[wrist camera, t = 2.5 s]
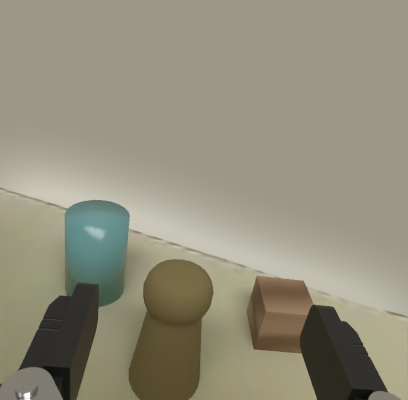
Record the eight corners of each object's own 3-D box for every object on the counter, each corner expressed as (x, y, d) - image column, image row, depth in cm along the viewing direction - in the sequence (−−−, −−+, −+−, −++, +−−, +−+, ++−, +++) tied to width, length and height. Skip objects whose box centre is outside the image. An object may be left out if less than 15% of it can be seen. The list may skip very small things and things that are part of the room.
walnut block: (303, 354, 37) (318, 316, 34) (253, 349, 36) (265, 311, 34) (290, 316, 41) (303, 280, 39) (246, 312, 41) (256, 276, 38)
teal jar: (74, 314, 36) (74, 236, 32) (59, 276, 41) (57, 204, 37) (132, 297, 40) (139, 225, 36) (112, 264, 44) (116, 197, 40)
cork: (148, 336, 35) (160, 240, 30) (208, 360, 34) (231, 263, 29) (114, 389, 30) (123, 282, 25) (184, 420, 29) (207, 313, 24)
